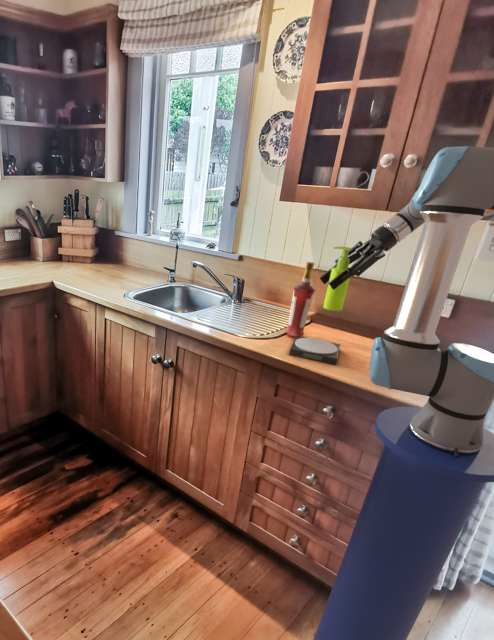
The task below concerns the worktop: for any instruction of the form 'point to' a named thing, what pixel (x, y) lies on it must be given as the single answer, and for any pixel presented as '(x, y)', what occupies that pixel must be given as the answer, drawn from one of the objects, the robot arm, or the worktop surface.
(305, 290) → the liquor
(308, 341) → the kitchen scale
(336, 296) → the soap dispenser
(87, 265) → the worktop surface
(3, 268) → the worktop surface
